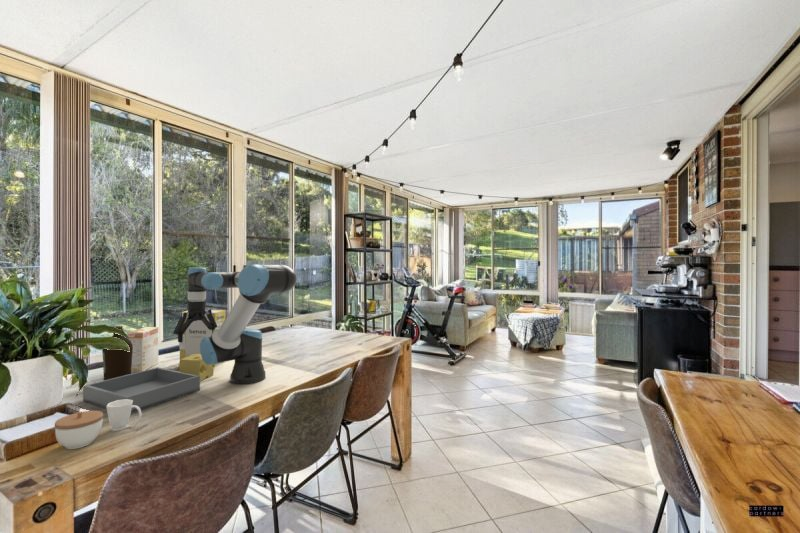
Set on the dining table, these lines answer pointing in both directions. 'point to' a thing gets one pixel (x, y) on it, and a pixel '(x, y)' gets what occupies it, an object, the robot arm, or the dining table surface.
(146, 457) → the dining table surface
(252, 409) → the dining table surface
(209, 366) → the cheese
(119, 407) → the cup
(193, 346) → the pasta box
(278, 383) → the dining table surface
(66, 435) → the lidded jar
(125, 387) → the tray
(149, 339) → the coffeecake box
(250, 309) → the robot arm
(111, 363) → the olive oil
